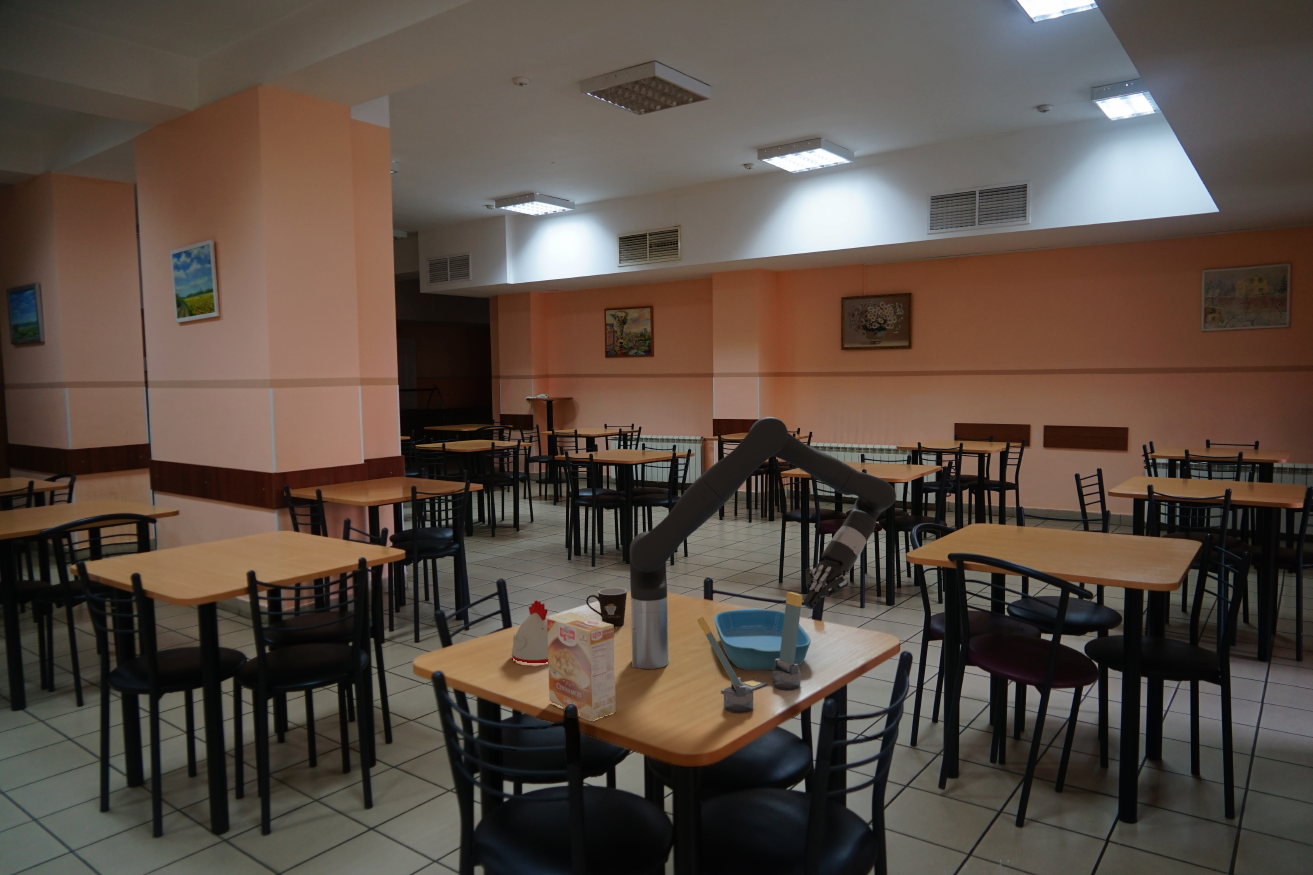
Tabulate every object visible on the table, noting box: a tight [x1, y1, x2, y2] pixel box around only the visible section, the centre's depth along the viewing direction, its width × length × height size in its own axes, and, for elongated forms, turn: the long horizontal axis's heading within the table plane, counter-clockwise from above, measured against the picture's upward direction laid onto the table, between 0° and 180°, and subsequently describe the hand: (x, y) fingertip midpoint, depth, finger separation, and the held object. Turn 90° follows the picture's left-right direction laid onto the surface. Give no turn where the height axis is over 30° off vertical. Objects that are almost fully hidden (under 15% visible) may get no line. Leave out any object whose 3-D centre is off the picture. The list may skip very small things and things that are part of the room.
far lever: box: [777, 591, 804, 671], centre depth 185 cm, size 2×4×18 cm, turn 32°
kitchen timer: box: [511, 599, 550, 663], centre depth 208 cm, size 14×14×15 cm
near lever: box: [696, 616, 744, 690], centre depth 171 cm, size 2×4×18 cm, turn 6°
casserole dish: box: [713, 607, 812, 671], centre depth 209 cm, size 37×22×7 cm, turn 4°
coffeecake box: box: [547, 611, 617, 722], centre depth 173 cm, size 15×7×20 cm, turn 45°
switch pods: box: [723, 659, 801, 714], centre depth 178 cm, size 24×6×6 cm, turn 135°
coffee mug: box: [585, 587, 628, 628], centre depth 238 cm, size 12×9×10 cm
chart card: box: [720, 678, 768, 694], centre depth 183 cm, size 11×4×1 cm, turn 131°
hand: (807, 606), depth 188 cm, fingers closed
